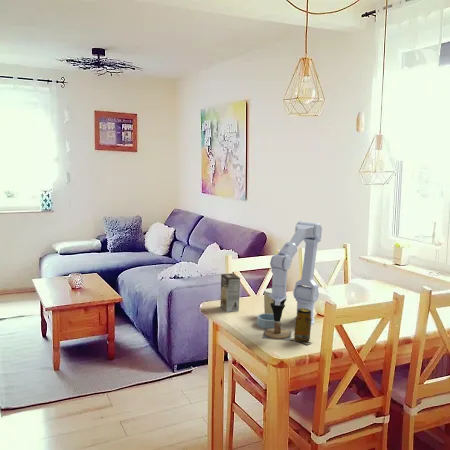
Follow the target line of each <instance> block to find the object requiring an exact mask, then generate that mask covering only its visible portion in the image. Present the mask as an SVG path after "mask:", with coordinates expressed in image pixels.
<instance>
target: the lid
mask: <svg viewBox="0 0 450 450" xmlns="http://www.w3.org/2000/svg"><path fill="white" fill-rule="evenodd" d="M288 331H289V330H286V329H283V328H282V323H281V321H280V322H275V323H274V328H272V329H267V330H266V331H265V335H266V336H267V337H269V338H273V339H272V340H276V339H285V338H288V337H289V336H290V333H289V332H288Z"/></svg>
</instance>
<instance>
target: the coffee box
mask: <svg viewBox="0 0 450 450" xmlns="http://www.w3.org/2000/svg"><path fill="white" fill-rule="evenodd" d="M220 276H221V279H220V308H222V309H223V311H225V312H226V313H231V312H232V313H233V312H239V311H240V292H241V291H240V289H241V277H240V276H238V275H236V274H235V273H233V272H232V273H222V274H221V275H220Z"/></svg>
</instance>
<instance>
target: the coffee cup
mask: <svg viewBox="0 0 450 450" xmlns="http://www.w3.org/2000/svg"><path fill="white" fill-rule="evenodd" d="M269 294H272V287H269V288H266V289H265V288H264V291H263V301H264V303H263V306H264V307H263V309H264V314H265V313H268V314H273V310H272V308H271V303H274V301H273V299H272V298H271V297H269ZM282 317H283V313H282V314H281V319H282Z"/></svg>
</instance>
